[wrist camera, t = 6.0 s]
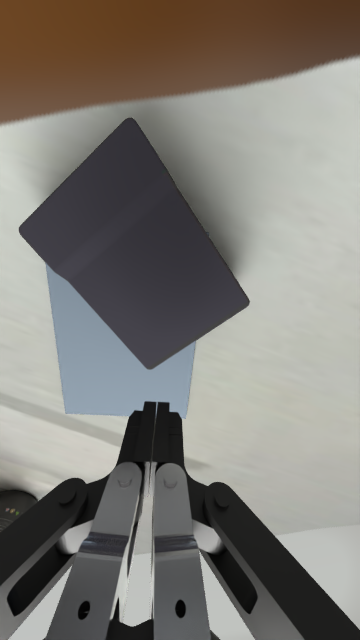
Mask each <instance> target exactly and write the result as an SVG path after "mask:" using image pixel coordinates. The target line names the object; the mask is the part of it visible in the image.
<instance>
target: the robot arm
mask: <svg viewBox="0 0 360 640" xmlns="http://www.w3.org/2000/svg"><path fill="white" fill-rule="evenodd" d="M156 406H157V414H156ZM169 410H170V402H158V404H157V402H152V401H145V402H144V407H143V411H139V410H134V412H133V413H132V414H131V415H130V417H129V419H128V423H127V427H126V431H125V435H124V438H123V442H122V446H121V450H120V454H119V458H118V461H117V464H116V466H115V468H114V469H113V470H112V472H111V473H110V474H109V475H107V476H106V477H104V478H102V479H100V480H97V481H94V482H91V483H88V484H86V483H85V482H84V481H83V480H82V479H80V478H71V479H68V480H65V481H64V482H62V483H61V484H59V485H58V486H57V487H55V488H54V489H53V490H52V491H51V492H49V493H48V494H47V495H46V496H44V497H43V498H42V499H41V500H39V501H38V502H37V503H36V504H35V505H33V506H32V507H31V508H30V509H28V510H27V511H26V512H25V513H24V514H22V515H21V516H20V517H19V518H17V519H16V520H15V521H14V522H12V523H11V524H10V525H9V526H8V527H6V528H5V529H4V530H3V531H1V532H0V640H8V639H9V638H10V637H11V636H12V634H13V633H14V632H15V631H16V630H17V628H18V627H19V626H20V625H21V624H22V623H23V621H24V620H25V619H26V618H27V617H28V616H29V615H30V613H31V612H32V611H33V610H34V609H35V607H36V606H37V605H38V604H39V603H40V602H41V600H42V599H43V598H44V597H45V596H46V595H47V593H48V592H49V591H50V590H51V589H52V588H53V587H54V585H55V584H56V583H57V582H58V581H59V580H60V578H61V577H62V576H63V575H64V574H65V573H66V571H67V570H68V569H69V568H70V567H71V566H72V568H71V571H70V573H69V577H68V579H67V581H66V584H65V587H64V590H63V593H62V595H61V598H60V600H59V603H58V606H57V609H56V611H55V614H54V617H53V619H52V622H51V625H50V627H49V630H48V633H47V636H46V637H45V638H44V639H43V640H220V639H219V638H218V637H217V636H216V635H215V634H214V633H213V632H212V631H211V630H210V627H209V620H208V613H207V605H206V598H205V591H204V584H203V576H202V569H201V562H200V554H199V551H200V552H201V554H202V556H203V557H204V559H205V561H206V562H207V564H208V565H209V567H210V568H211V570H212V572H213V573H214V575H215V576H216V578H217V580H218V581H219V583H220V584H221V586H222V587H223V589H224V591H225V592H226V594H227V595H228V597H229V599H230V600H231V602H232V603H233V605H234V607H235V608H236V609H237V611H238V613H239V614H240V616H241V618H242V619H243V621H244V623H245V624H246V626H247V627H248V629H249V630H250V632H251V634H252V635H253V637H254V638H255V640H360V630H359V629H358V628H357V626H356V625H355V624H354V623H353V622H352V621H351V620H350V619H349V618H348V616H347V615H345V613H344V612H343V611H342V610H341V609H340V608H339V607H338V606H337V604H335V602H334V601H333V600H332V599H331V598H330V597H329V596H328V594H327V593H326V592H325V591H324V590H323V589H322V588H321V587H320V586H319V585H318V583H316V581H315V580H314V579H313V578H312V577H311V576H310V575H309V574H308V572H307V571H306V570H305V569H304V568H303V567H302V566H301V565H300V564H299V562H298V561H297V560H296V559H295V558H294V557H293V556H292V555H291V554H290V553H289V551H288V550H287V549H286V548H285V547H284V546H283V545H282V544H281V543H280V542H279V540H278V539H277V538H276V537H275V536H274V535H273V534H272V533H271V532H270V531H269V529H268V528H267V527H266V526H265V525H264V524H263V523H262V522H261V521H260V520H259V518H258V517H257V516H256V515H255V514H254V513H253V512H252V511H251V510H250V508H249V507H248V506H247V505H246V504H245V503H244V502H243V501H242V500H241V499H240V497H239V496H238V495H237V494H236V493H235V492H234V491H233V490H232V489H231V488H230V487H229V486H228V485H226V484H224V483H222V482H214V483H212V484H210V485H209V486H206V485H204V484H201V483H199V482H197V481H195V480H193V479H192V478H191V477H190V476H189V475H188V473H187V472H186V469H185V466H184V452H183V432H182V419H181V417H180V415H179V413H178V412H169ZM150 474H151V482H150ZM149 484H150V497H153V512H152V545H151V590H150V620H147V621H145V622H143V623H141V624H139V625H137V626H134V627H130V626H128V625H125V624H124V623H123V618H124V612H125V606H126V599H127V591H128V584H129V577H130V572H131V566H132V561H133V555H134V550H135V544H136V539H137V533H138V528H139V522H140V516H141V513H142V506H143V498H144V497H148V494H149ZM198 548H199V549H198ZM72 564H73V565H72Z"/></svg>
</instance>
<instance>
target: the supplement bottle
mask: <svg viewBox="0 0 360 640" xmlns="http://www.w3.org/2000/svg"><path fill="white" fill-rule="evenodd" d="M36 503H37V500H36V499H35V498H34V497H33V496H31V495H29V494H27V493H25V492H22V491H15V490H11V491H5V492H2V493H0V532H1V531H3V530H4V529H5V528H6V527H8V526H9V525H10V524H11V523H12V522H14V521H15V520H16V519H17V518H19V517H20V516H21V515H22V514H24V513H25V512H26V511H27V510H28V509H30V508H31V507H32V506H33V505H35V504H36Z"/></svg>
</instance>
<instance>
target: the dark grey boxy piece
mask: <svg viewBox="0 0 360 640" xmlns="http://www.w3.org/2000/svg"><path fill="white" fill-rule="evenodd" d="M19 233H20V235H21V236H22V237H23V238H24V239H25V240H26V242H27V243H28V244H29V245H30V246H31V247H32V248H33V249H34V250H35V251H36V253H37V254H38V255H39V256H40V257H41V258H42V259H43V260H44V261H45V262H46V264H47V265H48V266H49V267H50V268H51V269H52V270H53V271H54V272H55V273H56V274H58V275H59V276H61V277H62V278H64V279H65V280H67V281H68V282H69V283H70V284H71V286H72V287H73V288H74V289H75V290H76V291H77V292H78V293H79V294H80V296H81V297H82V298H83V299H84V300H85V301H86V302H87V303H88V304H89V306H90V307H91V308H92V309H93V310H94V311H95V312H96V313H97V314H98V316H99V317H100V318H101V319H102V320H103V321H104V322H105V323H106V324H107V326H108V327H109V328H110V329H111V330H112V331H113V332H114V333H115V334H116V336H117V337H118V338H119V339H120V340H121V341H122V342H123V343H124V344H125V346H126V347H127V348H128V349H129V350H130V351H131V352H132V353H133V354H134V356H135V357H136V358H137V359H138V360H139V361H140V362H141V363H142V364H143V366H144V367H145V368H146V369H148V370H152V369H154V368H155V367H157V366H158V365H160V364H161V363H163V362H164V361H166V360H167V359H169V358H170V357H172V356H173V355H175V354H176V353H178V352H179V351H181V350H182V349H184V348H185V347H187V346H188V345H190V344H192V343H193V342H195V341H196V340H198V339H199V338H201V337H202V336H204V335H205V334H207V333H208V332H210V331H211V330H213V329H214V328H216V327H217V326H219V325H220V324H222V323H223V322H225V321H226V320H228V319H229V318H231V317H232V316H234V315H235V314H237V313H239V312H240V311H242V310H243V309H245V308H246V307H247V306H248V305H249V303H250V301H249V299H248V297H247V295H246V294H245V292H244V291H243V289H242V288H241V286H240V285H239V283H238V281H237V280H236V278H235V277H234V275H233V274H232V272H231V271H230V269H229V268H228V266H227V264H226V263H225V261H224V260H223V258H222V257H221V255H220V254H219V252H218V250H217V249H216V247H215V246H214V244H213V243H212V241H211V240H210V238H209V236H208V235H207V233H206V232H205V230H204V229H203V227H202V226H201V224H200V223H199V221H198V219H197V218H196V216H195V215H194V213H193V212H192V210H191V209H190V207H189V205H188V204H187V202H186V201H185V199H184V198H183V196H182V195H181V193H180V191H179V190H178V188H177V187H176V185H175V183H174V181H173V179H172V178H171V176H170V174H169V172H168V171H167V169H166V167H165V166H164V164H163V163H162V161H161V160H160V158H159V156H158V155H157V153H156V152H155V150H154V149H153V147H152V145H151V144H150V142H149V141H148V139H147V138H146V136H145V135H144V133H143V131H142V130H141V128H140V127H139V125H138V124H137V122H136V121H135V120H134V119H133V118H127V119H125V120H124V121H123V122H122V123H121V124H120V125H119V126H118V127H117V128H116V129H115V130H114V131H113V132H112V133H111V134H110V135H109V136H108V137H107V138H106V139H105V140H104V141H103V142H102V143H101V144H100V145H99V146H98V147H97V148H96V150H95V151H94V152H93V153H92V154H91V155H90V156H89V157H88V158H87V159H86V160H85V161H84V162H83V163H82V164H81V165H80V166H79V167H78V168H77V169H76V170H75V171H74V172H73V173H72V174H71V175H70V176H69V177H68V178H67V179H66V180H65V181H64V182H63V183H62V184H61V185H60V186H59V187H58V188H57V189H56V190H55V191H54V192H53V193H52V194H51V195H50V196H49V197H48V198H47V199H46V200H45V201H44V202H43V203H42V204H41V205H40V206H39V207H38V208H37V209H36V210H35V211H34V212H33V213H32V214H31V215H30V216H29V217H28V218H27V219H26V220H25V221H24V222H23V223H22V225H21V226H20V227H19Z"/></svg>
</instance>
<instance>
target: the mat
mask: <svg viewBox="0 0 360 640" xmlns="http://www.w3.org/2000/svg"><path fill="white" fill-rule="evenodd" d="M206 233H207V235H208V236H209V232H206ZM45 263H46V262H45ZM46 271H47V278H48V286H49V293H50V301H51V308H52V316H53V323H54V331H55V338H56V346H57V353H58V361H59V368H60V376H61V383H62V391H63V398H64V406H65V413H66V414H90V415H113V416H130V415H131V414H132V413H133V412H134V410H139V411H143V407H144V402H145V401H152V402H157V404H158V402H170V410H169V412H178V413H179V415H180V417H181V418H184V419H186V414H187V406H188V398H189V390H190V382H191V374H192V366H193V358H194V350H195V342H196V341H195V342H193V343H192V344H190V345H188V346H187V347H185V348H184V349H182V350H181V351H179V352H178V353H176V354H175V355H173V356H172V357H170V358H169V359H167V360H166V361H164V362H163V363H161V364H160V365H158V366H157V367H155V368H154V369H152V370H148V369H146V368H145V367H144V366H143V364H142V363H141V362H140V361H139V360H138V359H137V358H136V357H135V356H134V354H133V353H132V352H131V351H130V350H129V349H128V348H127V347H126V346H125V344H124V343H123V342H122V341H121V340H120V339H119V338H118V337H117V336H116V334H115V333H114V332H113V331H112V330H111V329H110V328H109V327H108V326H107V324H106V323H105V322H104V321H103V320H102V319H101V318H100V317H99V316H98V314H97V313H96V312H95V311H94V310H93V309H92V308H91V307H90V306H89V304H88V303H87V302H86V301H85V300H84V299H83V298H82V297H81V296H80V294H79V293H78V292H77V291H76V290H75V289H74V288H73V287H72V286H71V284H70V283H69V282H68V281H67V280H65V279H64V278H62V277H61V276H59V275H58V274H56V273H55V272H54V271H53V270H52V269H51V268H50V267H49V266H48V265H47V264H46ZM156 414H157V406H156Z"/></svg>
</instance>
